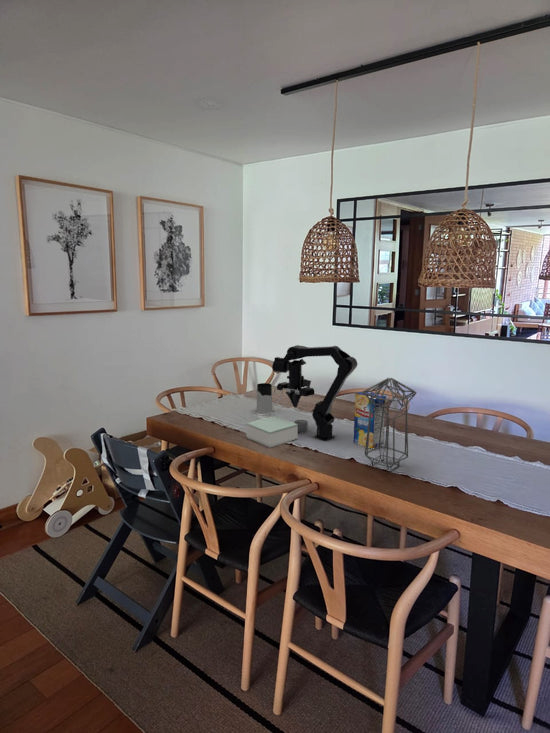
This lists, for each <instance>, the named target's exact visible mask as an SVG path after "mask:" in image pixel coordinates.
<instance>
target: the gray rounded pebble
mask: <svg viewBox="0 0 550 733" xmlns="http://www.w3.org/2000/svg"><path fill="white" fill-rule="evenodd" d="M294 423H295V424H298V432H300V433H299V434H305V433H304V432H306V433H308V432H307V431H309V430H308V427H309V421H308V420H306V419H296V420H294ZM302 432H303V433H302Z"/></svg>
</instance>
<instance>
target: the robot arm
mask: <svg viewBox="0 0 550 733" xmlns="http://www.w3.org/2000/svg"><path fill="white" fill-rule="evenodd" d="M307 357H310V358H311V357H331V358H332V359H333V361H334V362H335V364H336V365H337V366H338V368H337V372H336V376H335V378H334V379H333V382H332V383H331V385H330V387H329V389H328V391H327V393H326V395H325V396H324V397H323V400H320V401H319V402H317V403H315V406H314V408H313V409H312V410H311V412H312V413H311V414H312V418H313V420H314V422H315V426H316V435H314V438H316V439H317V438H318V439H319V440H322V441H328V440H331V439H335V436H334V435H333V427H334V426H333V424H332V423H334V422H335V419H336V418H335V417H334V415H333V414H332V413H331V411H332V407H333V403H334V402H335V399H336V398H337V396H338V394H339V393H340V391H341V388H342V387H343V385H344V384H345V382H346V380H347V378H349V376H351V374H352V373H353V372H354V371H355V370H356V368H357V366H358V361H357V359H356V358H355V357H353V356H351V355H349V353H347V352H345V351H343V349H341V347H339V346H337V345H333V346H313V347H311V346H310V347H308V346H304V345H299V344H297V345H293V346H290V347H288V349H287V351H286V354H285V356H283V357H279V356H276V357H274V359H273V362H272V366H271V367H272V371H273V372H274V373H282V374H287V372H288V375H286V379H288V382H287V381H283V382H279V383H278V384H277V385H276V387H277V388H276V391H277V390H278V391H282V389H283V390H284V389H285V390H286V391H285V394H286V395H287V396H288V398H289V400H290V402H291V404H292V406H293V408H297V407H298V405H299V402H300V399H301V397H309V396H313V395H315V389H314V387H311V383H312V380H309V379H305V376H304V375H303V374H302V368H303V365H306V364H307V362H306V361H305V360H304V359H303V358H307Z"/></svg>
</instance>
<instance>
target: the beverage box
mask: <svg viewBox="0 0 550 733" xmlns="http://www.w3.org/2000/svg"><path fill="white" fill-rule="evenodd" d="M362 392H363V391H360V392H356V393H355V394H354V395H355V396H354V419H353V440H352V441H353V442H356V443H359V444H362V445H364V446H366V438H367V431H368V423H369V413H370V412H369V410H370V400H369V399H368V398H367V397H366V396H365V395H364V394H362ZM366 393H368V394H371V392H366ZM375 393H376V392H372V395H375ZM367 396H368V395H367ZM376 396H377V395H376ZM368 397H369V398H370V399H371V397H370V396H368ZM378 397H379V398H380V397H381V394H379V395H378ZM382 398H383V399H387V396H386V395H383V396H382ZM372 401H373V398H372ZM381 401H382V402H383V403H386V402H387V400H381ZM381 401H380V404H382V402H381ZM374 403H375V404H379V399H376V398H374ZM374 406H375V405H373V403H371V410H373V408H374ZM382 406H384V405H382ZM385 406H387V404H385ZM378 407H381V406H379V405H376V406H375V408H374V409H376V408H378ZM384 410H385V411H386V408H384ZM371 412H372V411H371ZM372 413H373V414H376V415H380V416H382V407H381V408H378V409H376V410H373V412H372ZM373 414H371V420H370V432H369V445H368V447H369V448H372V449H373V448H376V447H378V446H379V437H380V428H381V418H382V417H380V416H376V415H373ZM383 417H386V414H385V413H383ZM385 423H386V418H383V422H382V431H381V440H380V446H382V445H383V446H384V445H385V444H384V440H385V427H386V424H385ZM356 443H355V444H356Z"/></svg>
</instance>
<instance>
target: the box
mask: <svg viewBox="0 0 550 733" xmlns="http://www.w3.org/2000/svg"><path fill="white" fill-rule="evenodd" d="M245 425H246V424H245ZM245 428H246V429H245V430H246V435H245V436H246V439H249V440H250V441H252V442H255V443H258V444H260V445H261V446H264V447H267V448H268V449H271V448H274V447H276V446H277V447H278V446H280V445H283V444H287V443H290V442H293V441H292V440H294V441H296V440H295V439H297V440H298V434H299V433H298V426H296V427H293V428H289V429H286V430H282V431H279V432H275V433H272V434H268V433H266V432H263V431H261V430H258V429H256V428H253V427H251V426H248V425H246V427H245ZM289 441H290V442H289ZM286 442H287V443H286Z"/></svg>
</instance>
